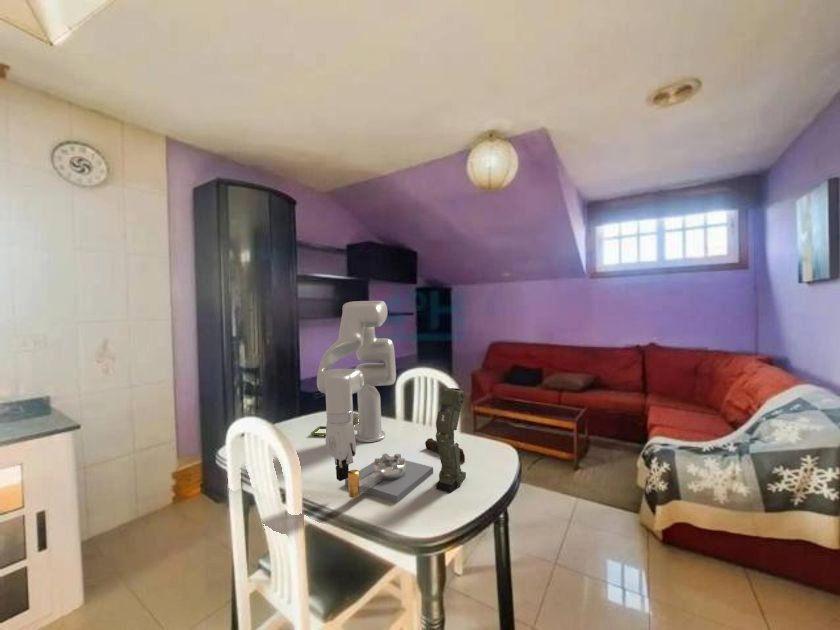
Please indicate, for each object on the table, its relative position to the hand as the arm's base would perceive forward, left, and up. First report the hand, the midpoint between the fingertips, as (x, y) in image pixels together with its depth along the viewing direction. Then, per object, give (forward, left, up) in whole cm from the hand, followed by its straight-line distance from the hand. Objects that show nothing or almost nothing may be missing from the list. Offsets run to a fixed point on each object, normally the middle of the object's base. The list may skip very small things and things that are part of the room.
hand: (342, 478), depth 102 cm
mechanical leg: (+24, +23, -6) cm, 34 cm away
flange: (-44, +48, -6) cm, 65 cm away
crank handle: (+6, +9, -3) cm, 11 cm away
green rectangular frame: (-46, +34, -6) cm, 58 cm away
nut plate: (+6, +15, -5) cm, 17 cm away
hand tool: (+13, +40, -6) cm, 42 cm away
